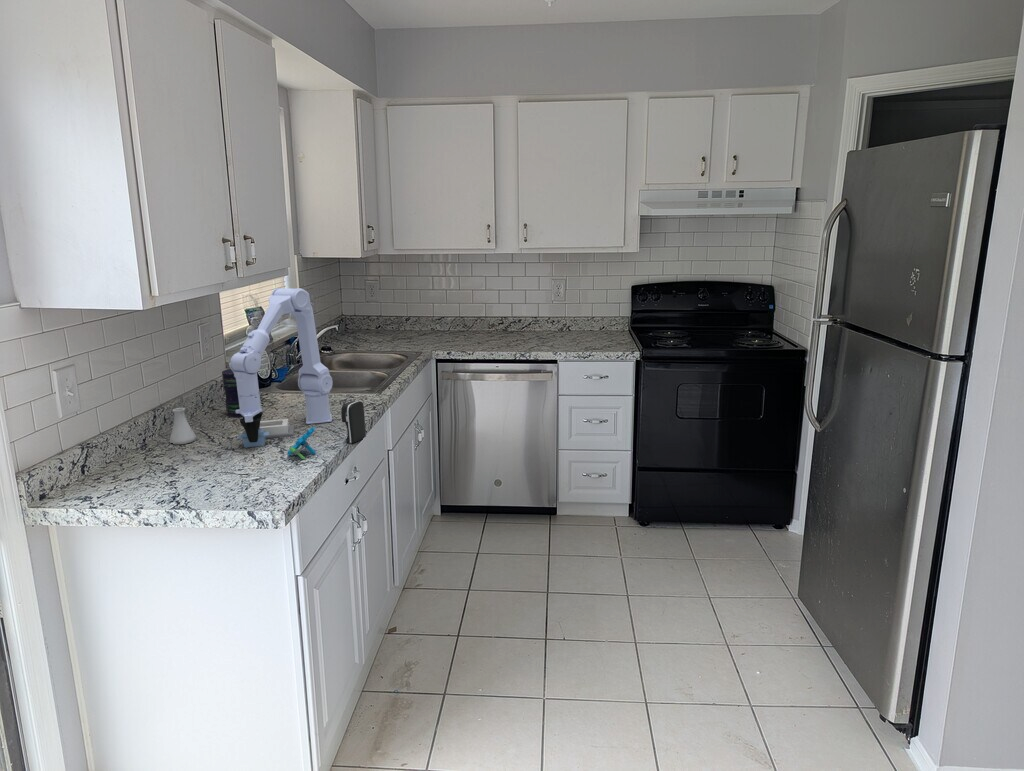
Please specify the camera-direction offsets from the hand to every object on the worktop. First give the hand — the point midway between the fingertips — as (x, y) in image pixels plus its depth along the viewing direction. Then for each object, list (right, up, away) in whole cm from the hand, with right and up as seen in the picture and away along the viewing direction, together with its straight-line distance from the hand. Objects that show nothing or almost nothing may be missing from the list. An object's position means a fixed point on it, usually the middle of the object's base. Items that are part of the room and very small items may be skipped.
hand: (254, 439), depth 202 cm
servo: (0, -1, 0) cm, 1 cm away
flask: (-23, -1, +6) cm, 24 cm away
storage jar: (-17, +6, +34) cm, 39 cm away
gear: (+17, -4, -10) cm, 20 cm away
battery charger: (+29, 0, +2) cm, 29 cm away
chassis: (+1, +1, +11) cm, 11 cm away
